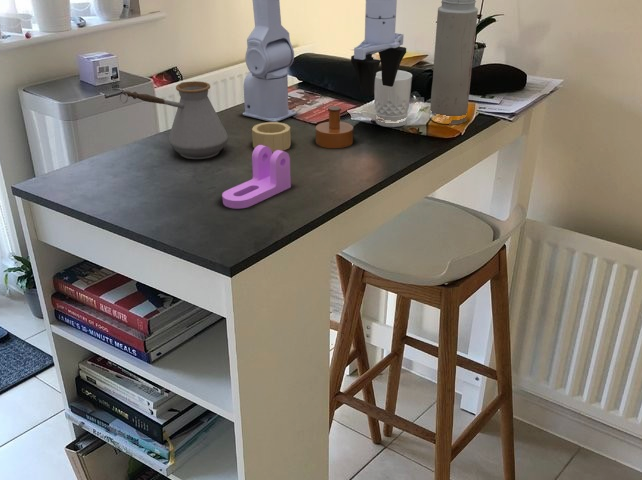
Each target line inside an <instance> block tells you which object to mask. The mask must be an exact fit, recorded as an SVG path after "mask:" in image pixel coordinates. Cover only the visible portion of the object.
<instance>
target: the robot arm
mask: <svg viewBox="0 0 642 480" xmlns="http://www.w3.org/2000/svg"><path fill="white" fill-rule="evenodd" d="M397 2H398V0H365V12H364V13H365V14H364V15H365V16H364V39H363V40H362V41H361V42H360V43H359V44H358V45H357V46H355V47H353V55H351V56H350V63H351V64H352V65H353V67H354V69H355V72H356V75H357V78H358V82H359V83H358V84H359V86H360V91H361V95H363V96H367V97H372V96H373V95H374V85H375V77H376V73H377V72H378V70H379V66H380V67H381V69H380V70H381V71H382V83H383V85H385V86H390V87H392V86H393V85H394V81H395V78H396V74H397V71H398V70H399V67H400V65H401V63H402V61H403V59H404V57H405V55H406V54H407V47H404V46H403V45H404V38H405V37H404V35H405V34H403V33H398V32H396V23H397V4H398V3H397ZM280 4H281V3H280V0H252V9H253V21H254V27H253V29H252V31H251V32H250V33H249V35H248V36H247V38H246V45H247V46H246V47H247V48H246V52H245V57H244V59H245V65H246V67H247V70H248V71H249V72H248V73H246V75H245V77H244V80H243V101H244V102H243V103H244V112H242V116H244V117H249V118H253V119H257V120H262V121H266V122H280V121H283V120H286V119H287V118H290V117H292V116H295V115H296V114H298V111H296V110H293V109H289V84H288V83H289V82H288V81H289V79H288V73H290V67H291V66H292V65H293V63H294V60H295V50H294V47H293V45H292V42H291V38H290V32H289V31H288V30H287V29H286V28H285V27H284V26H283V25H282V17H281V5H280ZM376 54H378V56H379V59H376V58H374V56H373V55H376Z"/></svg>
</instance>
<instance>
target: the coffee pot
mask: <svg viewBox="0 0 642 480" xmlns="http://www.w3.org/2000/svg"><path fill="white" fill-rule="evenodd" d="M210 88H211V84H210V83H208V82H206V81H199V80H198V81H197V80H196V81H183V82H180V83H178V84H177V85H176V86H175V90H176V91H177V92H178V93H179V96H180V98H179V101H173V100H168V99H164V98H161V97H157V96H154V95H151V94H147V93H138V92H137V91H133V92H131V91H128V90H125V91H123V92H121V93H120V95H119V102H120V103H122V104H126V103H127V102H128V100H129V97H132V99H133V100H136V99H138V100H141V101H143V102H147V103H152V104H153V103H154V104H160V105H166V106H170V107H174V108H176V111H175V116H174V119H173V122H172V126H171V129H170V132H169V136H168V143H169V145H170V147H171V148H172V149H173V151H175V152H176V153H178V154H179V155H180V156H181V157H183V158H185V159H191V160H204V159H210V158H213V157H216V156H217V155H218V154H219V153H220V151H222V150H223V148H225V146H226V145H227V143H228V141H229V139H228V138H229V137H228V133H227V131H226V129H225V127H224V125H223V124H222V121H221V119H220V118H219V116H218V114H217V112H216V110H215V108H214V106H213V104H212V102H211V100H210V98H209V96H208V95H209V90H210ZM123 95H124V96H125V97H126V100H125V101H122V96H123Z"/></svg>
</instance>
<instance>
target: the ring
mask: <svg viewBox="0 0 642 480" xmlns="http://www.w3.org/2000/svg"><path fill="white" fill-rule="evenodd" d="M291 134H292V133H291V126H290V125H288V124H287V123H284V122H280V121H278V122H270V121H266V122H261V123H258V124H255V125H253V126H252V128H251V136H252V148H254V149H255V148H256V147H257V146H258V145H263V146H267V147H269V148H270V149H271V151H272V153H274V152H275V151H276V150H281V151H284V152H285V151H287V150H288V149H290V147H291V145H292V140H291V138H292V137H291Z"/></svg>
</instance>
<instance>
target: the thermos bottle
mask: <svg viewBox="0 0 642 480" xmlns="http://www.w3.org/2000/svg"><path fill="white" fill-rule="evenodd" d="M476 2H477V0H441V1H440V3H441V6H439V7H437V16H436V27H435V40H434V41H435V43H434V53H433V54H434V55H433V65H432V66H433V67H432V68H433V69H432V71H433V72H432V85H431V92H430V94H431V95H430V104H429V105H430V107H429V111H430V110H431V111H432V112H433V113H436V114H440V115H446V116H462V115H466V113H467V114H468V108H469V99H470V88H471V80H472V69H473V61H474V52H475V41H476V33H477V32H476V31H477V24H478V23H477V22H478V13H479V9H478V7H476ZM467 119H468V115H467V116H466V117H465V118H463V119H460V120H452V121H451V123H449V126H453V125H454V126H455V125H461V124H463V123H466V121H467Z"/></svg>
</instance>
